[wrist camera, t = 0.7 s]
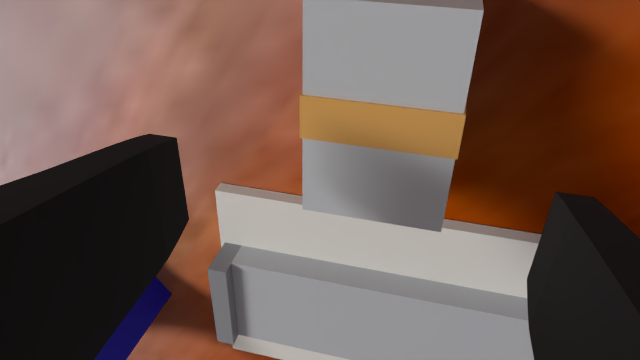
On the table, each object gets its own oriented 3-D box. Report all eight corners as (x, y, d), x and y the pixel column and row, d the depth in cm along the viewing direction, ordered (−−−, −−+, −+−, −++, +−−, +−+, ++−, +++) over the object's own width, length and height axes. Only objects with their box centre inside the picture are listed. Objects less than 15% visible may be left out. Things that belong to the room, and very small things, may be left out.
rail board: (690, 258, 18) (719, 307, 16) (599, 421, 23) (612, 472, 21) (220, 183, 21) (195, 215, 19) (237, 339, 27) (218, 377, 25)
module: (480, -29, 15) (486, 11, 10) (448, 148, 18) (442, 234, 14) (345, -38, 15) (299, -4, 11) (337, 134, 19) (299, 211, 14)
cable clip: (114, 228, 25) (26, 318, 20) (173, 291, 26) (105, 389, 21) (-3, 293, 30) (-93, 375, 25) (51, 341, 32) (-25, 428, 27)
